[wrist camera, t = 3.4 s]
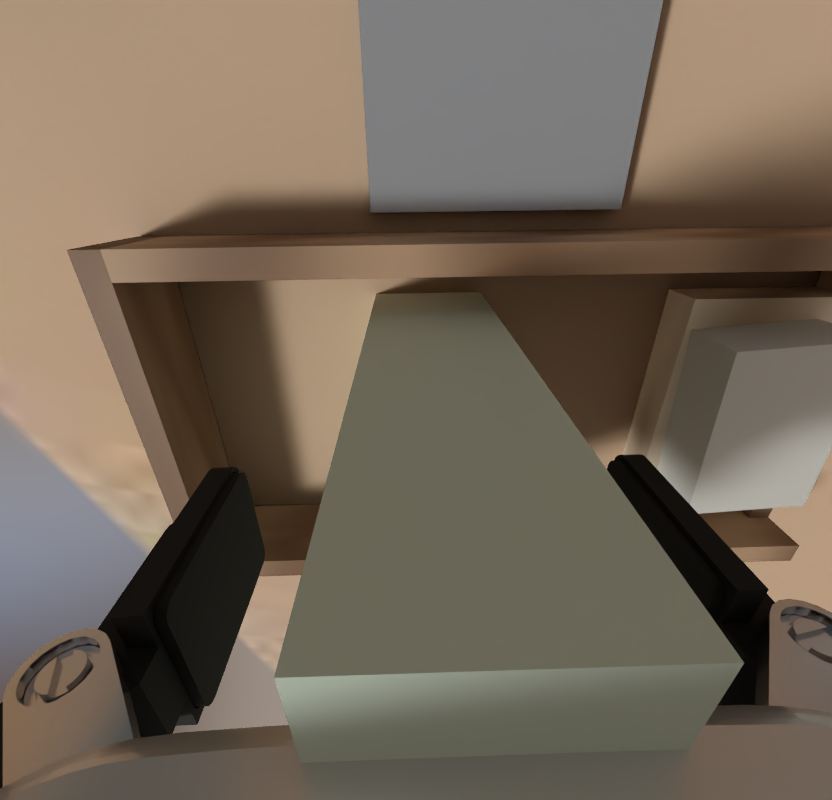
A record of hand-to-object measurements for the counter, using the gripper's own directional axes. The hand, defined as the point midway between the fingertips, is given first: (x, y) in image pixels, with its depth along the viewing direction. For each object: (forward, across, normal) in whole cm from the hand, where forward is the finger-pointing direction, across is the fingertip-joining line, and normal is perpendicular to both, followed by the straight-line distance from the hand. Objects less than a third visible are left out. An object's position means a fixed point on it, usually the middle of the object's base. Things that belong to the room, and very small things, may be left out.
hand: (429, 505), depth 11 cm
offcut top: (+4, -11, 0) cm, 12 cm away
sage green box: (+6, 0, 0) cm, 6 cm away
